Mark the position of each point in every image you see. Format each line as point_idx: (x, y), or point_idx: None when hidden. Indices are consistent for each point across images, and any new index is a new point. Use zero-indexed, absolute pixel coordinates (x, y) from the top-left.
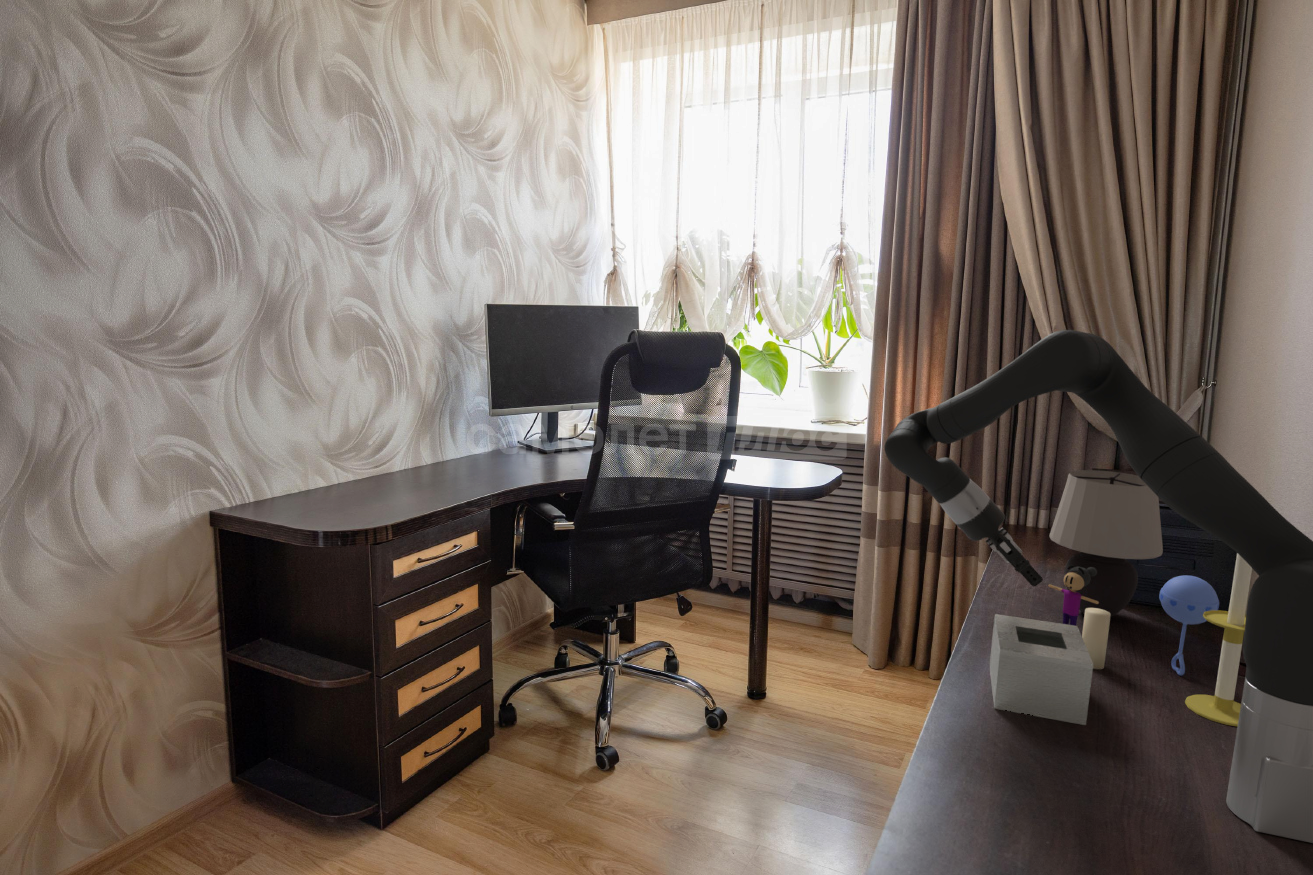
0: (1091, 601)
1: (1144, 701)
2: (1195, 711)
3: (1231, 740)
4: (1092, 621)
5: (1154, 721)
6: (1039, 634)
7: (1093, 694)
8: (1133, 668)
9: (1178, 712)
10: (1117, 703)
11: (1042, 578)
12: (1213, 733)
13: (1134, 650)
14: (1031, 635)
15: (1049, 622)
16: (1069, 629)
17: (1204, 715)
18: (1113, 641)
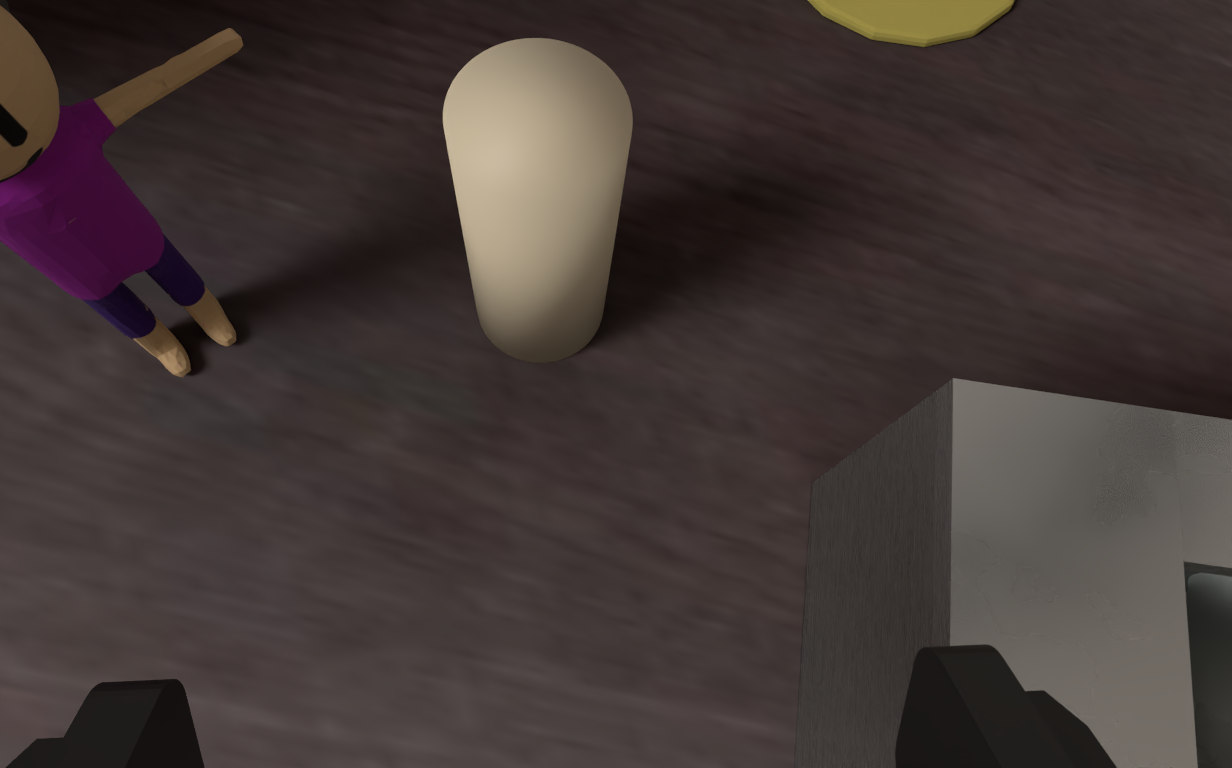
0: (197, 74)
1: (927, 200)
2: (961, 35)
3: (1160, 13)
4: (608, 201)
5: (1124, 231)
6: None
7: None
8: None
9: (985, 102)
10: (1002, 328)
11: (996, 651)
12: (1129, 50)
13: (282, 25)
14: None
15: (968, 602)
16: (1068, 468)
17: (994, 18)
18: None
